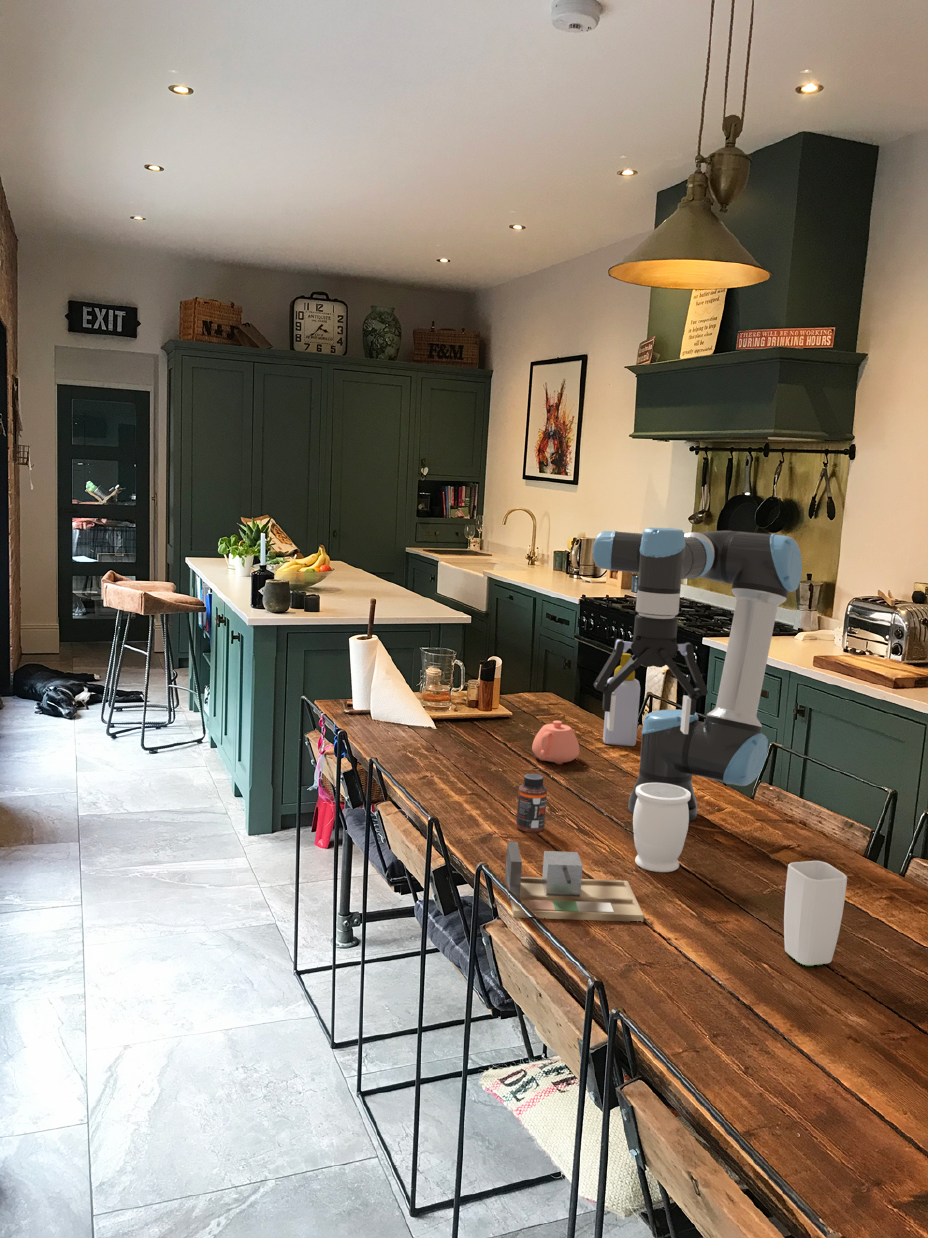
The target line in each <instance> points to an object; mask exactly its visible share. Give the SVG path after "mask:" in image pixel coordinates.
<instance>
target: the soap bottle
mask: <svg viewBox="0 0 928 1238" xmlns="http://www.w3.org/2000/svg"><path fill="white" fill-rule="evenodd" d="M631 657H632V655H631V653H627V652H625V653H623V654H622V656H621V658H620V665H618V666H616V667H615V668H614V670H613V672H614V674H613V676H612V677H609V678H608V680H607V682H606V684H607V683H608V682H609V681H610V680H611V679H612V678H613V677H614V676H615V675H616V674H617V673H618V672H619V671H620V670H621V669H622V668H623V667H624V666H625V665H626V663H627V662H628V661H629V659H630V658H631ZM635 676H636V671H635V670H634V671H633V672H632V673H631V674H630V675H629V676H628V677H627V678H626V679H625V680H624V681H623V682H622V683H621V684H620V685H619V686H618V687H617V688H616V689H615V691H614V692H613V693H614V694H615V695H616V702H615V715H614V728H613V731H609V730H608V728H607V714H608V712H605V711H604V721H603V732H602V733H603V736H602V737H603V738H602V741H603V743H604V744H607V745H614V746H615V745H616V746H622V747H623V746H625V747H634V746H635V745H637V735H638V734H637V733H638V723H639V721H638V720H639V711H640V710H639V709H640V698H641V697H640V696H641V685H640V681H639V680H638V679H636V678H635Z"/></svg>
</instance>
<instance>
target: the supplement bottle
mask: <svg viewBox="0 0 928 1238" xmlns="http://www.w3.org/2000/svg"><path fill="white" fill-rule="evenodd" d="M523 777H524V778H523V782H524V783H523V784H522V783H521V785H520V786H519V788H518V794H517V796H518V797H517V808H516V809H517V810H516V825H515V826H516V827H517V828H518V829H519V830H520V831H523V832H526V833H538V832H542V831H543V830H544V829H545V824H546V809H547V798H548V797H547V796H548V789H547V787H546V786H545V785H544V776H543V775H541V774H537V773H527V774H524V776H523Z"/></svg>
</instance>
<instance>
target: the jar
mask: <svg viewBox="0 0 928 1238" xmlns="http://www.w3.org/2000/svg"><path fill="white" fill-rule="evenodd" d="M635 792H636V795H637V796H638V798H637V800H636V804H635V808H634V814H632V815H633V816H632V829H633V841H634V847H635V850H636V853H637V855H636V856H635V860H634V861H635V864H636V866H638V867H640V868H641V869H643V870H646V871H650V872H656V873H671V872H674V871H676V870H677V869H679V867H680V862H679V860H678V858H679V857H680V856H681V854H682V852H683V848H684V846H685V841H686V838H687V834H688V830H689V823H690V822H689V809H688V803H687V802H688V801H689V800H690V798H691V793H690V792H689V791H688V790H687V789H685V788H682V787H680V786H676V785H672V784H666V783H644V784H640V785H638V786H637V787H636V791H635Z"/></svg>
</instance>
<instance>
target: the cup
mask: <svg viewBox="0 0 928 1238" xmlns="http://www.w3.org/2000/svg"><path fill="white" fill-rule="evenodd" d="M785 881H786V882H785V893H784V895H785V896H784V911H783V913H784V914H783V937H784V938H783V939H784V941H783V942H784V951H785V952H786V953H787V955H789V957H791V958H792V959H793V960H794V959H795V962H797V963H798V964H799V963H800V964H799V965H801V964H802V965H801V966H804V965H805V966H804V967H814V965H817V966H823V964H825V965H828V964H830V963H831V962H832V961H833V957H834V953H835V949H836V948H837V947H836V946H837V942H838V939H839V934H840V929H841V924H842V918H843V914H844V913H843V912H844V905H845V899H846V893H847V892H846V891H847V884H848V883H847V882H848V876H847V875H846V874H845V873H843V872H842V871H840V870H839V869H837V868H836V867H835V866H833V865H831V864H829V863H828V862H825V861H822V860H821V861H820V860H807V861H806V860H805V861H794V862H789V864H787V872H786V880H785Z"/></svg>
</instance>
